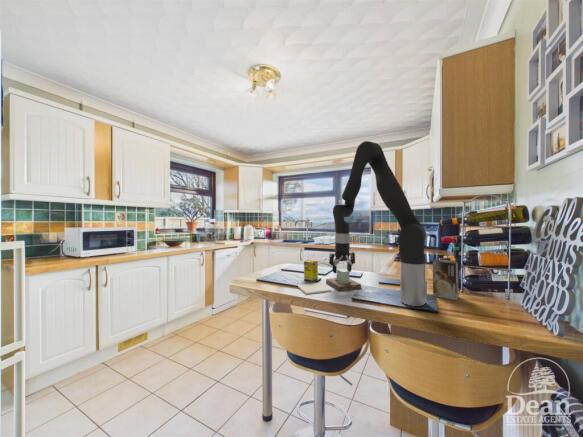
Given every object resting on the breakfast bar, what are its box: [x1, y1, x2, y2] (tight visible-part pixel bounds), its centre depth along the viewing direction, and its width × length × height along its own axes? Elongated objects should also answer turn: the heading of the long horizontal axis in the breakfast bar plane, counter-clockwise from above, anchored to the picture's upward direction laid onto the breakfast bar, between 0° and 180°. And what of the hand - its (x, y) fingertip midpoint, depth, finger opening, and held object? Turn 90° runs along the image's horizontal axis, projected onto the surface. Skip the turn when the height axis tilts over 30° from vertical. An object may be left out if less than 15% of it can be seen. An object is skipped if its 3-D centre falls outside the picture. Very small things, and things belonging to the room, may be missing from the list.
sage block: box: [336, 268, 350, 284], centre depth 123 cm, size 4×6×8 cm, turn 18°
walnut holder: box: [325, 277, 362, 292], centre depth 123 cm, size 12×14×2 cm
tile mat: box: [296, 281, 332, 295], centre depth 118 cm, size 13×13×1 cm
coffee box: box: [432, 259, 459, 301], centre depth 105 cm, size 9×6×16 cm
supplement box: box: [303, 259, 319, 282], centre depth 133 cm, size 6×6×11 cm
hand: (342, 272), depth 123 cm, fingers open, 8 cm apart
